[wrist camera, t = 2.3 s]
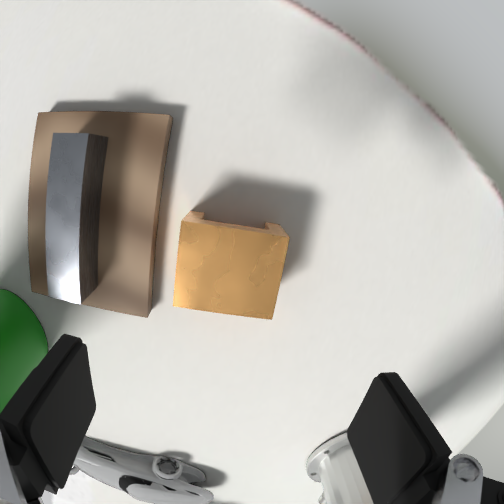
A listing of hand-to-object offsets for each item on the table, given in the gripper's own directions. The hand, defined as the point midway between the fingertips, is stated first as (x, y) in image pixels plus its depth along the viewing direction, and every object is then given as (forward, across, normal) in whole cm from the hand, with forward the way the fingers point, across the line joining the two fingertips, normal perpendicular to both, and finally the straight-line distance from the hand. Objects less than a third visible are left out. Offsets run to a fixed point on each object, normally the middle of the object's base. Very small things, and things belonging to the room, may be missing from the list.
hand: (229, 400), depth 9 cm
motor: (+17, +23, +12) cm, 31 cm away
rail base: (+16, +12, -2) cm, 20 cm away
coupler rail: (+15, +12, -2) cm, 19 cm away
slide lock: (+16, 0, 0) cm, 17 cm away
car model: (+17, +10, +33) cm, 39 cm away
